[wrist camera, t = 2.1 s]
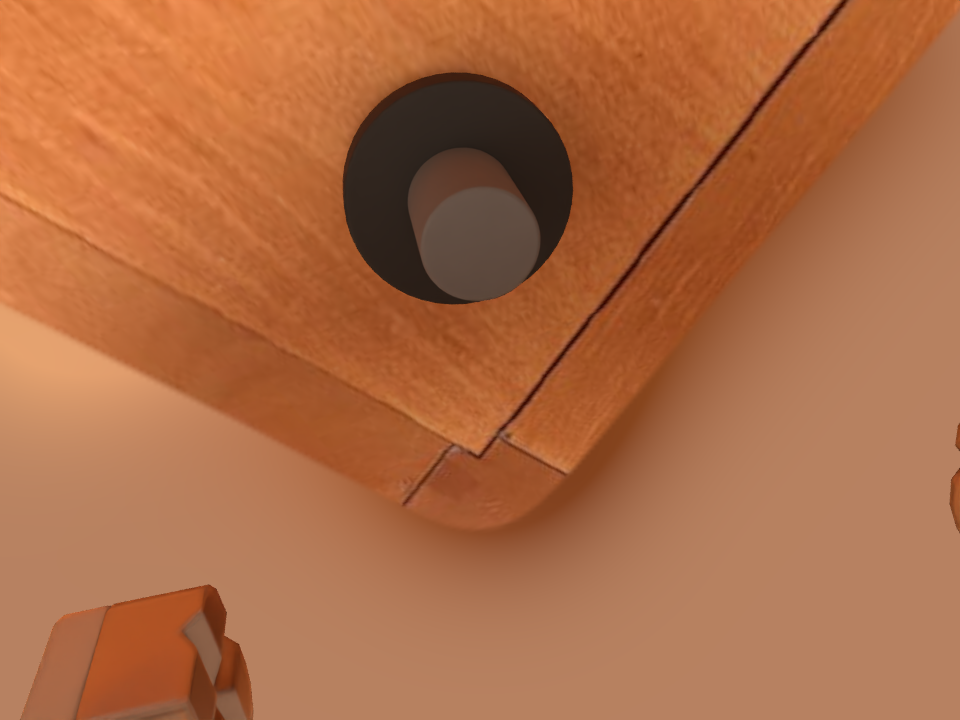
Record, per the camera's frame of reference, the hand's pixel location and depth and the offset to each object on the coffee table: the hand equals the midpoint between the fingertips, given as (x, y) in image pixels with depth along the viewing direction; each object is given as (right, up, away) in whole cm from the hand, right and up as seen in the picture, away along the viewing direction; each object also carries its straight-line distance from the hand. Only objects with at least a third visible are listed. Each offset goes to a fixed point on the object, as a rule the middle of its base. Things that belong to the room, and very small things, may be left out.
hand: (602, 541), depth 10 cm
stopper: (-2, +7, +14) cm, 15 cm away
